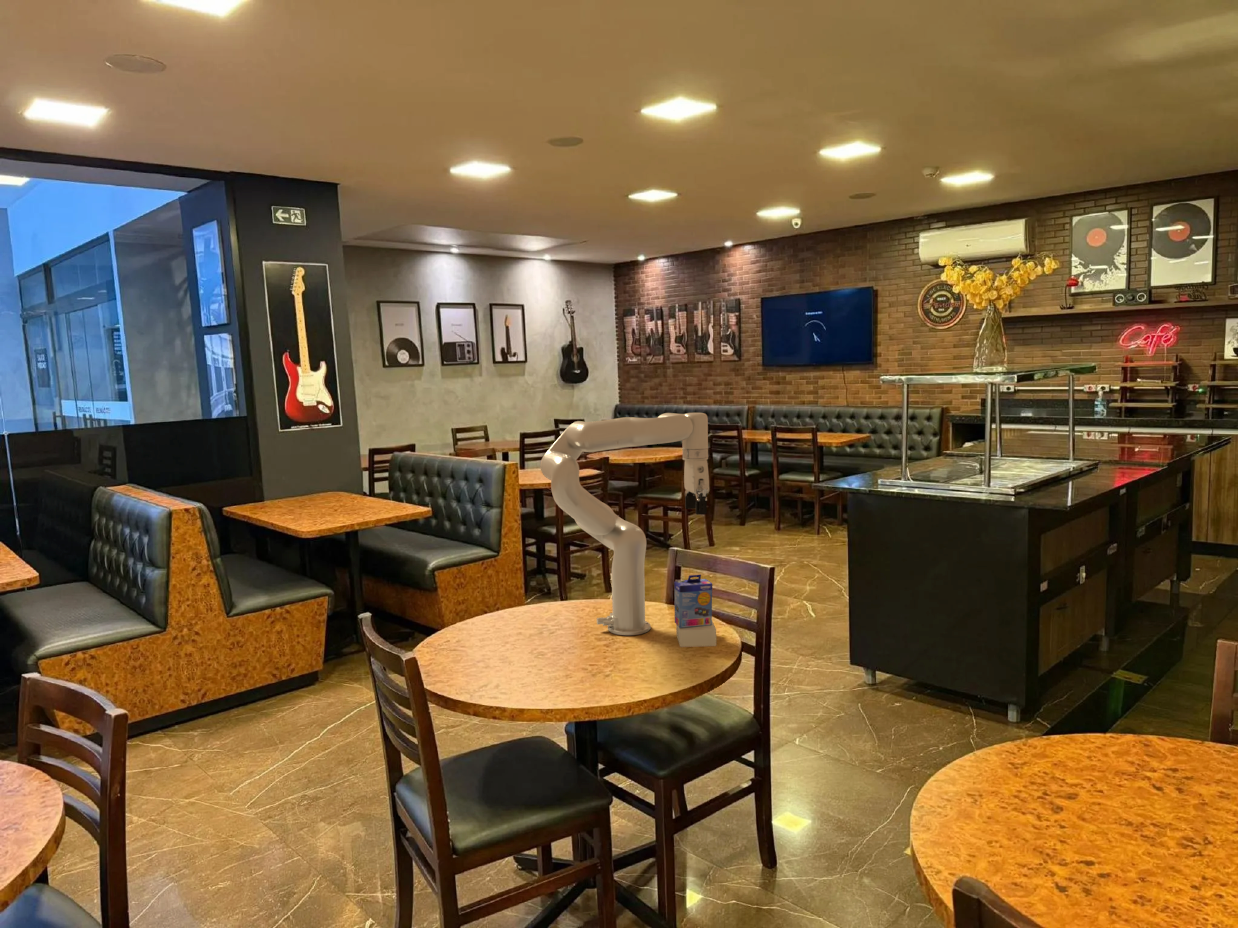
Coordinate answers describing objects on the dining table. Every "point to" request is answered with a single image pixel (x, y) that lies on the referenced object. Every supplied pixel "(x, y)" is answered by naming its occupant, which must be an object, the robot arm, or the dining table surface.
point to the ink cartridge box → (693, 602)
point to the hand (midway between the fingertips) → (695, 511)
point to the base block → (696, 636)
